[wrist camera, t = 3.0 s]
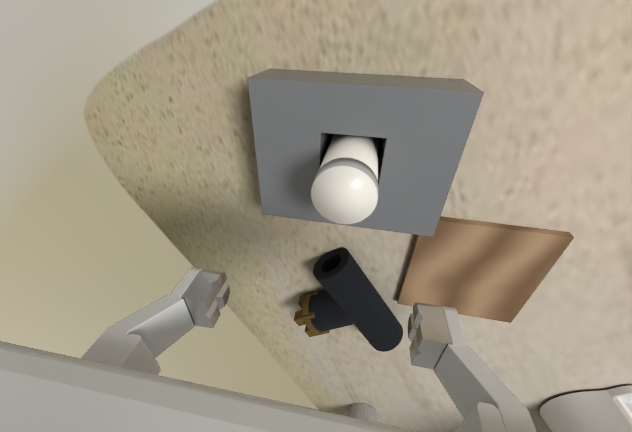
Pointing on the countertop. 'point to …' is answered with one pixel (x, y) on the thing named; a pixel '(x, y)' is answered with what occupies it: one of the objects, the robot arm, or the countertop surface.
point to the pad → (480, 267)
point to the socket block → (361, 120)
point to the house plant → (363, 412)
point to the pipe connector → (347, 303)
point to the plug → (347, 179)
